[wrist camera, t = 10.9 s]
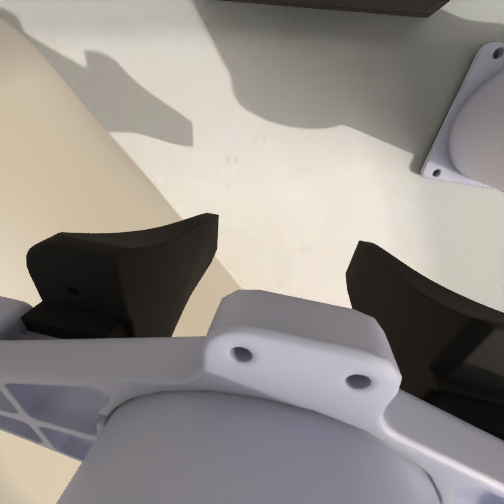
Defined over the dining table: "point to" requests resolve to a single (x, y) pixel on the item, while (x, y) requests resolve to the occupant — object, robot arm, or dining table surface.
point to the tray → (365, 5)
